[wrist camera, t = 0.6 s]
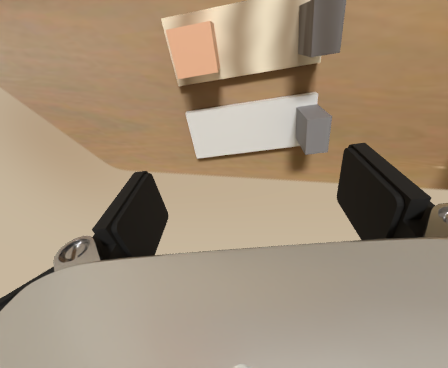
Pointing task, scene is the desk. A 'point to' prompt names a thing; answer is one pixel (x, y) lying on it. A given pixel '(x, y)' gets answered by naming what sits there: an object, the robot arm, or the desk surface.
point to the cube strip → (267, 34)
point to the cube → (194, 49)
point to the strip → (261, 126)
